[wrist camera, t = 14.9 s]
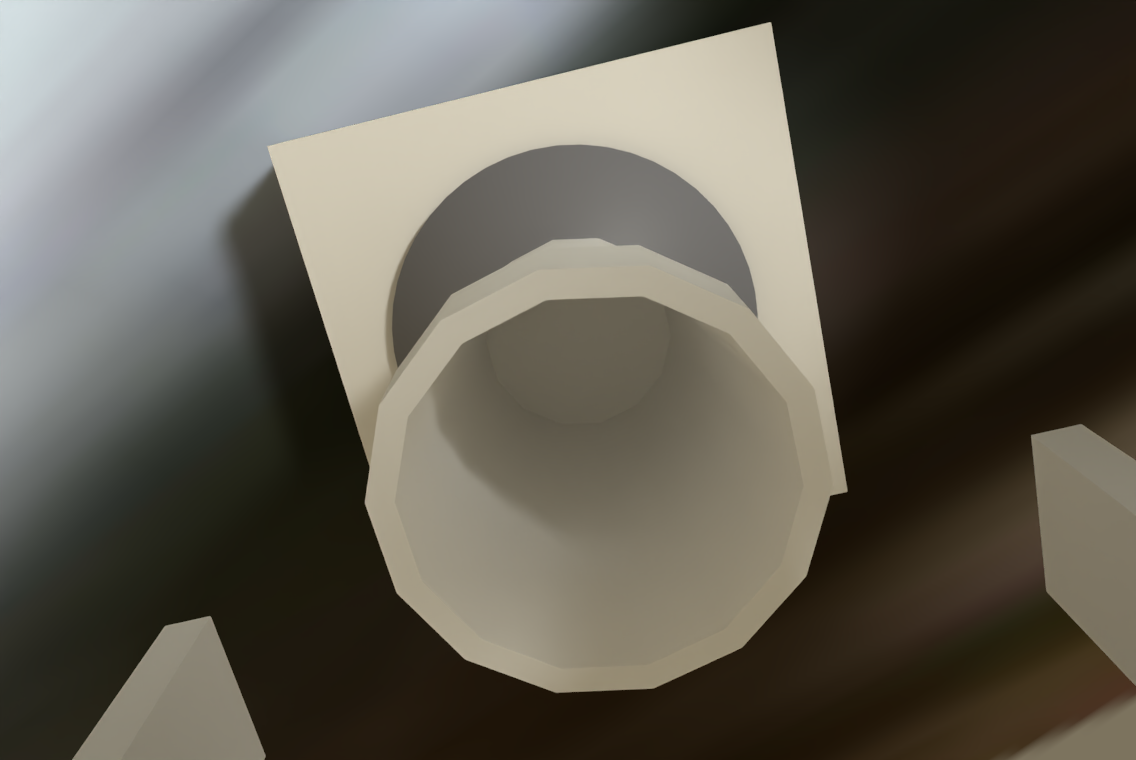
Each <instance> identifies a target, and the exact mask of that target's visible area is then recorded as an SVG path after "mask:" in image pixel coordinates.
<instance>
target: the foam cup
mask: <svg viewBox="0 0 1136 760" xmlns="http://www.w3.org/2000/svg"><path fill="white" fill-rule="evenodd" d="M832 488H833V479H832V474H831V469H830V464H829V459H828V454H827V449H826V444H825V439H824V434H823V429H822V424H821V418H820V413H819V408H818V403H817V398H816V393H815V388H814V387H813V386H812V385H811V384H810V382H809V381H808V380H807V379H806V377H805V376H804V375H803V374H802V372H801V371H800V370H799V369H798V368H797V366H796V365H795V364H794V363H793V361H792V360H791V359H790V358H789V357H788V355H787V354H786V353H785V352H784V350H783V349H782V348H781V347H780V346H779V344H778V343H777V342H776V341H775V339H774V338H773V337H772V336H771V334H770V333H769V332H768V331H767V330H766V328H765V327H764V326H763V325H762V323H761V322H760V321H759V320H758V319H757V317H756V316H755V315H754V314H753V312H752V311H751V310H750V309H749V308H748V307H747V305H746V304H745V303H744V302H743V301H742V300H741V299H740V297H739V296H738V295H737V294H736V293H735V292H734V291H733V290H732V288H731V287H730V286H729V285H728V284H726V283H724V282H721V281H719V280H717V279H715V278H712V277H710V276H708V275H706V274H703V273H701V272H699V271H697V270H694V269H692V268H690V267H688V266H685V265H683V264H681V263H678V262H676V261H674V260H672V259H669V258H667V257H665V256H663V255H660V254H658V253H656V252H654V251H651V250H649V249H647V248H644V247H642V246H640V245H623V246H616V245H614V244H611V243H609V242H607V241H604V240H602V239H599V238H587V239H559V240H551V241H549V242H547V243H546V244H544V245H542V246H540V247H538V248H536V249H534V250H532V251H530V252H528V253H527V254H525V255H523V256H521V257H519V258H517V259H515V260H513V261H511V262H510V263H509V264H507V265H506V266H505V267H503V268H501V269H499V270H497V271H495V272H493V273H491V274H489V275H487V276H485V277H484V278H482V279H480V280H478V281H476V282H474V283H472V284H470V285H468V286H466V287H465V288H463V289H461V290H459V291H457V292H455V293H453V294H451V296H450V297H449V298H448V300H447V301H446V302H445V304H444V305H443V307H442V308H441V309H440V311H439V312H438V314H437V315H436V316H435V318H434V319H433V320H432V322H431V323H430V325H429V326H428V327H427V329H426V330H425V331H424V333H423V334H422V336H421V337H420V338H419V340H418V341H417V343H416V344H415V345H414V347H413V348H412V349H411V351H410V352H409V354H408V355H407V356H406V358H405V359H404V360H403V362H402V363H401V365H400V366H399V367H398V369H397V370H396V372H395V374H394V376H393V378H392V380H391V382H390V384H389V386H388V388H387V390H386V392H385V394H384V396H383V398H382V400H381V402H380V404H379V408H378V415H377V422H376V429H375V436H374V442H373V449H372V456H371V463H370V470H369V477H368V484H367V490H366V497H365V505H366V508H367V511H368V514H369V517H370V519H371V522H372V525H373V528H374V531H375V534H376V536H377V539H378V542H379V545H380V548H381V550H382V553H383V556H384V559H385V562H386V565H387V567H388V570H389V573H390V576H391V579H392V581H393V584H394V587H395V590H396V593H397V594H398V595H399V596H400V597H401V598H402V599H403V600H404V601H405V602H406V603H407V604H408V605H409V606H411V607H412V608H413V609H414V610H415V611H416V612H417V613H418V614H419V615H420V616H421V617H422V618H423V619H424V620H425V621H426V622H427V623H428V624H429V625H430V626H431V627H432V628H433V629H434V630H435V631H436V632H437V633H438V634H439V635H440V636H441V637H442V638H443V639H444V640H445V641H447V642H448V643H449V644H450V645H451V646H452V647H453V648H454V649H455V650H456V651H457V652H458V653H459V654H460V655H461V656H462V657H463V658H464V659H465V660H468V661H471V662H473V663H476V664H479V665H482V666H484V667H487V668H490V669H492V670H495V671H498V672H501V673H503V674H506V675H509V676H512V677H514V678H517V679H520V680H523V681H525V682H528V683H531V684H533V685H536V686H539V687H542V688H544V689H547V690H550V691H553V692H555V693H560V692H584V691H607V690H631V689H654V688H656V687H658V686H660V685H662V684H664V683H667V682H669V681H671V680H673V679H675V678H677V677H680V676H682V675H684V674H686V673H688V672H690V671H693V670H695V669H697V668H699V667H701V666H704V665H706V664H708V663H710V662H712V661H714V660H717V659H719V658H721V657H723V656H725V655H727V654H730V653H732V652H734V651H736V650H738V649H741V648H742V647H743V646H744V645H745V644H746V643H747V642H748V641H749V639H750V638H751V637H752V636H753V635H754V634H755V633H756V632H757V631H758V629H759V628H760V627H761V626H762V625H763V624H764V623H765V622H766V621H767V619H768V618H769V617H770V616H771V615H772V614H773V613H774V612H775V611H776V609H777V608H778V607H779V606H780V605H781V604H782V603H783V602H784V600H785V599H786V598H787V597H788V596H789V595H790V594H791V593H792V592H793V590H794V589H795V588H796V587H797V586H798V585H799V584H800V583H801V582H802V580H803V579H804V578H805V577H806V576H807V572H808V569H809V566H810V562H811V559H812V555H813V552H814V549H815V545H816V542H817V538H818V535H819V532H820V528H821V525H822V521H823V518H824V515H825V511H826V508H827V504H828V501H829V498H830V494H831V491H832Z"/></svg>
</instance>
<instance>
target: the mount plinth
mask: <svg viewBox="0 0 1136 760" xmlns="http://www.w3.org/2000/svg"><path fill="white" fill-rule="evenodd" d="M267 147H268V150H269V153H270V156H271V159H272V162H273V166H274V169H275V172H276V175H277V178H278V181H279V184H280V188H281V191H282V194H283V197H284V200H285V203H286V206H287V209H288V213H289V216H290V219H291V222H292V225H293V228H294V231H295V234H296V238H297V241H298V244H299V247H300V250H301V253H302V256H303V260H304V263H305V266H306V269H307V272H308V275H309V278H310V281H311V285H312V288H313V291H314V294H315V297H316V300H317V303H318V306H319V310H320V313H321V316H322V319H323V322H324V325H325V328H326V332H327V335H328V338H329V341H330V344H331V347H332V350H333V353H334V357H335V360H336V363H337V366H338V369H339V372H340V375H341V379H342V382H343V385H344V388H345V391H346V394H347V397H348V400H349V404H350V407H351V410H352V413H353V416H354V419H355V422H356V425H357V429H358V432H359V435H360V438H361V441H362V444H363V447H364V451H365V454H366V457H367V460H368V463H369V466H370V463H371V456H372V449H373V442H374V436H375V429H376V422H377V415H378V408H379V404H380V402H381V400H382V398H383V396H384V394H385V392H386V390H387V388H388V386H389V384H390V382H391V380H392V378H393V376H394V374H395V372H396V370H397V369H398V367H399V366H400V365H401V363H402V362H403V360H404V359H405V358H406V356H407V355H408V354H409V352H410V351H411V349H412V348H413V347H414V345H415V344H416V343H417V341H418V340H419V338H420V337H421V336H422V334H423V333H424V331H425V330H426V329H427V327H428V326H429V325H430V323H431V322H432V320H433V319H434V318H435V316H436V315H437V314H438V312H439V311H440V309H441V308H442V307H443V305H444V304H445V302H446V301H447V300H448V298H449V297H450V296H451V294H453V293H455V292H457V291H459V290H461V289H463V288H465V287H466V286H468V285H470V284H472V283H474V282H476V281H478V280H480V279H482V278H484V277H485V276H487V275H489V274H491V273H493V272H495V271H497V270H499V269H501V268H503V267H505V266H506V265H507V264H509V263H510V262H511V261H513V260H515V259H517V258H519V257H521V256H523V255H525V254H527V253H528V252H530V251H532V250H534V249H536V248H538V247H540V246H542V245H544V244H546V243H547V242H549V241H551V240H559V239H587V238H599V239H602V240H604V241H607V242H609V243H611V244H614V245H616V246H623V245H640V246H642V247H644V248H647V249H649V250H651V251H654V252H656V253H658V254H660V255H663V256H665V257H667V258H669V259H672V260H674V261H676V262H678V263H681V264H683V265H685V266H688V267H690V268H692V269H694V270H697V271H699V272H701V273H703V274H706V275H708V276H710V277H712V278H715V279H717V280H719V281H721V282H724V283H726V284H728V285H729V286H730V287H731V288H732V290H733V291H734V292H735V293H736V294H737V295H738V296H739V297H740V299H741V300H742V301H743V302H744V303H745V304H746V305H747V307H748V308H749V309H750V310H751V311H752V312H753V314H754V315H755V316H756V317H757V319H758V320H759V321H760V322H761V323H762V325H763V326H764V327H765V328H766V330H767V331H768V332H769V333H770V334H771V336H772V337H773V338H774V339H775V341H776V342H777V343H778V344H779V346H780V347H781V348H782V349H783V350H784V352H785V353H786V354H787V355H788V357H789V358H790V359H791V360H792V361H793V363H794V364H795V365H796V366H797V368H798V369H799V370H800V371H801V372H802V374H803V375H804V376H805V377H806V379H807V380H808V381H809V382H810V384H811V385H812V386H813V387H814V388H815V393H816V398H817V403H818V408H819V413H820V418H821V424H822V429H823V434H824V439H825V444H826V449H827V454H828V459H829V464H830V469H831V474H832V479H833V488H832V491H831V494H830V496H831V495H835V494H840V493H844V492H848V491H847V485H846V478H845V472H844V466H843V460H842V454H841V448H840V442H839V436H838V429H837V423H836V417H835V411H834V405H833V399H832V393H831V386H830V380H829V374H828V368H827V362H826V356H825V350H824V344H823V337H822V331H821V325H820V319H819V313H818V307H817V301H816V294H815V288H814V282H813V276H812V270H811V264H810V258H809V251H808V245H807V239H806V233H805V227H804V221H803V215H802V209H801V202H800V196H799V190H798V184H797V178H796V172H795V166H794V159H793V153H792V147H791V141H790V135H789V129H788V123H787V117H786V110H785V104H784V98H783V92H782V86H781V80H780V74H779V67H778V61H777V55H776V49H775V43H774V37H773V31H772V25H771V22H769V23H765V24H761V25H756V26H752V27H748V28H744V29H739V30H735V31H731V32H727V33H723V34H719V35H715V36H711V37H707V38H703V39H699V40H695V41H691V42H687V43H683V44H679V45H675V46H671V47H667V48H662V49H658V50H654V51H650V52H646V53H642V54H638V55H634V56H630V57H626V58H622V59H618V60H614V61H610V62H606V63H602V64H598V65H594V66H590V67H585V68H581V69H577V70H573V71H569V72H565V73H561V74H557V75H553V76H549V77H545V78H541V79H537V80H533V81H529V82H525V83H521V84H517V85H513V86H508V87H504V88H500V89H496V90H492V91H488V92H484V93H480V94H476V95H472V96H468V97H464V98H460V99H456V100H452V101H448V102H444V103H440V104H436V105H431V106H427V107H423V108H419V109H415V110H411V111H407V112H403V113H399V114H395V115H391V116H387V117H383V118H379V119H375V120H371V121H367V122H363V123H359V124H354V125H350V126H346V127H342V128H338V129H334V130H330V131H326V132H322V133H318V134H314V135H310V136H306V137H302V138H298V139H294V140H290V141H286V142H282V143H278V144H275V145H271V146H267Z"/></svg>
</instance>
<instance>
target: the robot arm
mask: <svg viewBox="0 0 1136 760" xmlns="http://www.w3.org/2000/svg"><path fill="white" fill-rule="evenodd" d="M1031 440H1032V450H1033V460H1034V470H1035V481H1036V491H1037V501H1038V511H1039V521H1040V531H1041V542H1042V552H1043V562H1044V572H1045V582H1046V591H1047V592H1048V593H1049V595H1050V596H1051V597H1052V598H1053V599H1054V600H1055V601H1056V602H1057V603H1058V604H1059V605H1060V606H1061V607H1062V608H1063V609H1064V610H1065V611H1066V613H1067V614H1068V615H1069V616H1070V617H1071V618H1072V619H1073V620H1074V621H1075V622H1076V623H1077V624H1078V625H1079V626H1080V627H1081V628H1082V629H1083V630H1084V632H1085V633H1086V634H1087V635H1088V636H1089V637H1090V638H1091V639H1092V640H1093V641H1094V642H1095V643H1096V644H1097V645H1098V646H1099V647H1100V648H1101V650H1102V651H1103V652H1104V653H1105V654H1106V655H1107V656H1108V657H1109V658H1110V659H1111V660H1112V661H1113V662H1114V663H1115V664H1116V665H1117V666H1118V667H1119V669H1120V670H1121V671H1122V672H1123V673H1124V674H1125V675H1126V676H1127V677H1128V678H1129V679H1130V680H1131V681H1132V682H1133V683H1134V684H1135V685H1136V461H1135V460H1134V459H1132V458H1131V457H1130V456H1128V455H1127V454H1125V453H1124V452H1122V451H1121V450H1119V449H1118V448H1116V447H1115V446H1113V445H1112V444H1110V443H1109V442H1107V441H1106V440H1104V439H1103V438H1101V437H1100V436H1098V435H1097V434H1095V433H1094V432H1092V431H1091V430H1089V429H1088V428H1086V427H1085V426H1083V425H1082V424H1080V425H1075V426H1071V427H1066V428H1061V429H1057V430H1052V431H1048V432H1043V433H1039V434H1034V435H1031ZM265 757H266V755H265V753H264V750H263V748H262V745H261V743H260V740H259V738H258V735H257V733H256V730H255V727H254V725H253V722H252V720H251V717H250V715H249V712H248V710H247V707H246V705H245V702H244V700H243V697H242V694H241V692H240V689H239V687H238V684H237V682H236V679H235V677H234V674H233V672H232V669H231V666H230V664H229V661H228V659H227V656H226V654H225V651H224V649H223V646H222V644H221V641H220V639H219V636H218V633H217V631H216V628H215V626H214V623H213V621H212V618H211V616H208V617H203V618H199V619H194V620H190V621H185V622H181V623H176V624H172V625H167V626H165V627H164V628H163V630H162V631H161V632H160V634H159V635H158V637H157V638H156V640H155V641H154V643H153V644H152V645H151V647H150V648H149V650H148V651H147V653H146V654H145V656H144V657H143V658H142V660H141V661H140V663H139V664H138V666H137V667H136V669H135V670H134V671H133V673H132V674H131V676H130V677H129V679H128V680H127V681H126V683H125V684H124V686H123V687H122V689H121V690H120V692H119V693H118V694H117V696H116V697H115V699H114V700H113V702H112V703H111V705H110V706H109V707H108V709H107V710H106V712H105V713H104V715H103V716H102V718H101V719H100V720H99V722H98V723H97V725H96V726H95V728H94V729H93V731H92V732H91V733H90V735H89V736H88V738H87V739H86V741H85V742H84V743H83V745H82V746H81V748H80V749H79V751H78V752H77V754H76V755H75V756H74V758H73V759H72V760H264V759H265Z"/></svg>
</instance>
